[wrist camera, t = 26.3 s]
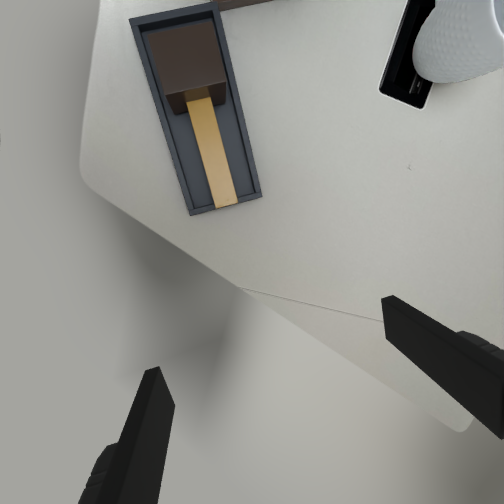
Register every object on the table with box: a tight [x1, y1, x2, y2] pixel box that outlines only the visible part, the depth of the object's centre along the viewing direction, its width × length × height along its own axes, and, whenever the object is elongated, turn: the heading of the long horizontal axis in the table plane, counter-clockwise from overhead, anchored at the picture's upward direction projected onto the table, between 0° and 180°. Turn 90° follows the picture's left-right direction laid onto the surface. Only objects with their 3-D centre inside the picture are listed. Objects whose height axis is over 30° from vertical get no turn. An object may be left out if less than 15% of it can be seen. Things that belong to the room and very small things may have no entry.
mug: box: [413, 0, 504, 83], centre depth 31 cm, size 15×11×13 cm
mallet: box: [147, 21, 238, 209], centre depth 32 cm, size 19×7×6 cm, turn 14°
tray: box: [129, 1, 262, 216], centre depth 35 cm, size 24×11×2 cm, turn 14°
